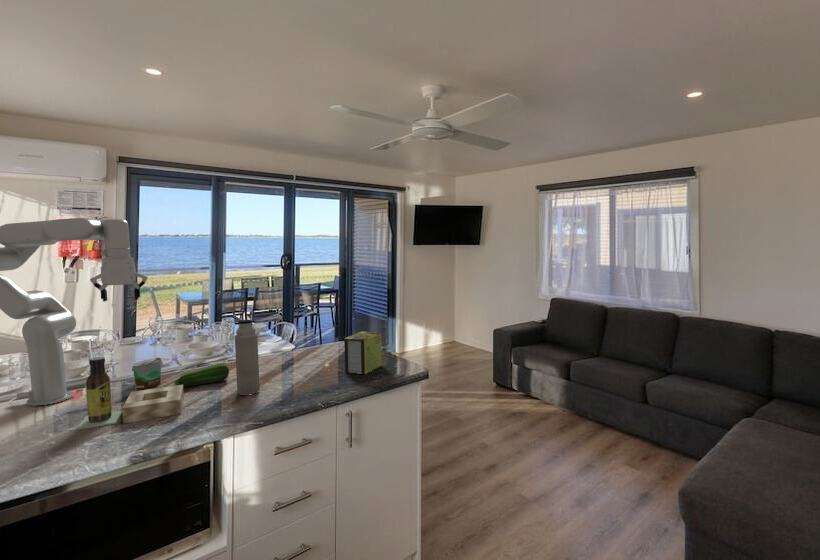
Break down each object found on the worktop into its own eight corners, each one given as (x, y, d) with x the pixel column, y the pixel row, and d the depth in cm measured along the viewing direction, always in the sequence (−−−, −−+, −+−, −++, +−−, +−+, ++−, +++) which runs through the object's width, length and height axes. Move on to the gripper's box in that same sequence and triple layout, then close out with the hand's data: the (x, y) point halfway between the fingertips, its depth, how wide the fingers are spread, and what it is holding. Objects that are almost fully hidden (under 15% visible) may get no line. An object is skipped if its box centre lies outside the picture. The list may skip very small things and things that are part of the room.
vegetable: (228, 361, 167) (172, 369, 158) (229, 378, 165) (173, 387, 156) (227, 364, 173) (174, 372, 164) (229, 381, 171) (174, 390, 162)
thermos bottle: (249, 387, 160) (246, 317, 158) (264, 390, 157) (261, 319, 154) (232, 394, 153) (229, 321, 150) (248, 397, 150) (244, 322, 147)
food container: (146, 392, 156) (144, 366, 155) (133, 391, 157) (131, 365, 156) (171, 381, 168) (169, 357, 167) (158, 380, 169) (157, 357, 168)
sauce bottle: (105, 422, 128) (100, 361, 126) (83, 423, 127) (78, 361, 125) (116, 414, 134) (112, 355, 133) (96, 415, 134) (91, 356, 132)
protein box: (381, 365, 187) (381, 332, 186) (364, 375, 173) (364, 340, 172) (362, 363, 192) (361, 330, 190) (344, 372, 178) (343, 338, 176)
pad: (76, 430, 124) (76, 428, 124) (85, 417, 133) (85, 416, 133) (116, 423, 128) (116, 422, 128) (122, 411, 137) (122, 410, 137)
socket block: (123, 423, 128) (122, 408, 128) (132, 405, 143) (131, 391, 142) (180, 413, 135) (180, 399, 135) (183, 397, 150) (183, 384, 149)
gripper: (85, 254, 140) (89, 303, 142) (144, 253, 148) (147, 299, 149) (91, 253, 147) (94, 300, 148) (147, 253, 154) (150, 297, 156)
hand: (121, 300), depth 149 cm, fingers open, 9 cm apart
